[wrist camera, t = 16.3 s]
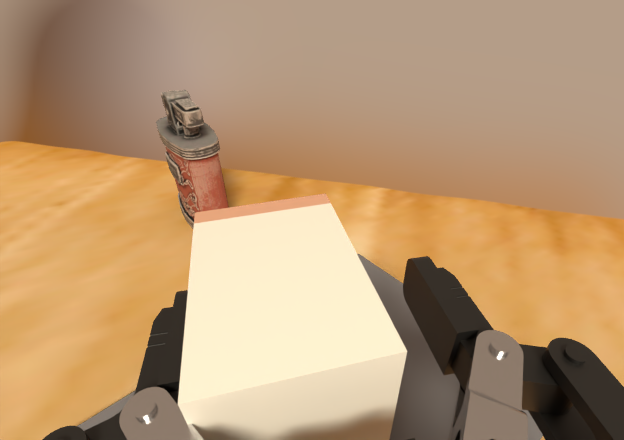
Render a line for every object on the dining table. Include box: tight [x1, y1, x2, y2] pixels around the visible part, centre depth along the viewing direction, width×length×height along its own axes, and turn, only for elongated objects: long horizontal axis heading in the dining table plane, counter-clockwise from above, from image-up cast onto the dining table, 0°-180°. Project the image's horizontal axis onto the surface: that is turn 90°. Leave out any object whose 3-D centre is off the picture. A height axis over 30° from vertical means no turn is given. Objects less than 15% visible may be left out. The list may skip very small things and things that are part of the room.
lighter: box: [156, 90, 229, 229], centre depth 27 cm, size 8×3×10 cm, turn 34°
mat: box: [77, 254, 543, 440], centre depth 15 cm, size 13×19×1 cm
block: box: [178, 194, 407, 440], centre depth 14 cm, size 8×6×8 cm
